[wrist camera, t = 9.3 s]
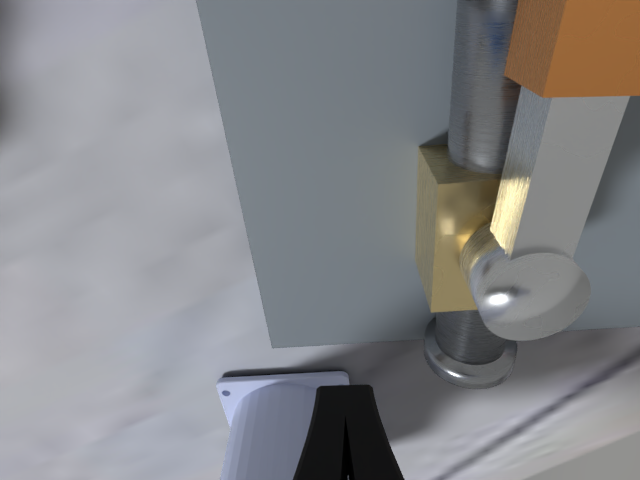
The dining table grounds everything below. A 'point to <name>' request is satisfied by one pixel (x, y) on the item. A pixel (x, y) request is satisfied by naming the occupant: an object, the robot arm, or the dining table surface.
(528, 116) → the valve lever
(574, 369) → the dining table surface
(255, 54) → the base board
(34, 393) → the dining table surface
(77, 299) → the dining table surface
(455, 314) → the valve pipe
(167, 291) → the dining table surface
